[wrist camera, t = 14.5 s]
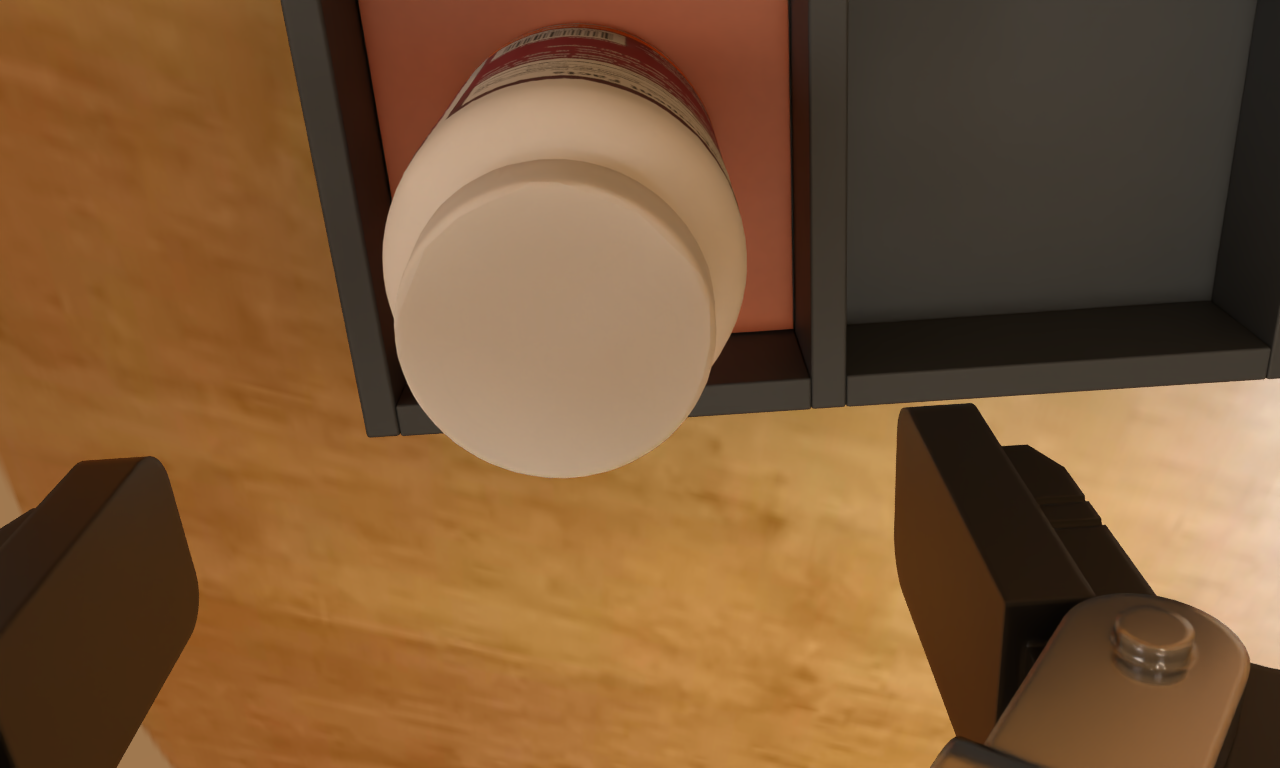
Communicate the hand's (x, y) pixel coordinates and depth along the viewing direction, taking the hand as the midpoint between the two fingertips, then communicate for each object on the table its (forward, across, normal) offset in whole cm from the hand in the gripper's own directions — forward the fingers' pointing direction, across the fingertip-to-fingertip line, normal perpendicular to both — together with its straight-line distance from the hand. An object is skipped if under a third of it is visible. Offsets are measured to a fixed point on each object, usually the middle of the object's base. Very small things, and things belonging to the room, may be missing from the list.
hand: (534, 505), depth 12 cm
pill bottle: (+15, 0, 0) cm, 16 cm away
